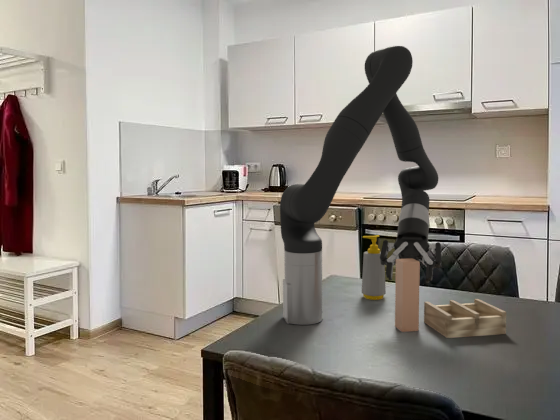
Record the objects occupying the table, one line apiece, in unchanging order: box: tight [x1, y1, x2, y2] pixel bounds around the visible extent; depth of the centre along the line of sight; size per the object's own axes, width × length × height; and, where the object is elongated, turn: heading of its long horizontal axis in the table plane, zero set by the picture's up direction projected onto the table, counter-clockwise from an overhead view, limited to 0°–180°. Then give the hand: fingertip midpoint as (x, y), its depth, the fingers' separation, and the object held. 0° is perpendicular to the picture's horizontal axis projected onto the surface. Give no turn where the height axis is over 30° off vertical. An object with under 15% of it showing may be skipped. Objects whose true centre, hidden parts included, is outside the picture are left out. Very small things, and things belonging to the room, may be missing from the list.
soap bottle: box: [361, 234, 387, 301], centre depth 136 cm, size 7×7×18 cm
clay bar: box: [394, 258, 421, 333], centre depth 109 cm, size 4×4×16 cm
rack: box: [423, 298, 507, 339], centre depth 110 cm, size 14×11×5 cm
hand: (408, 279), depth 112 cm, fingers open, 8 cm apart
